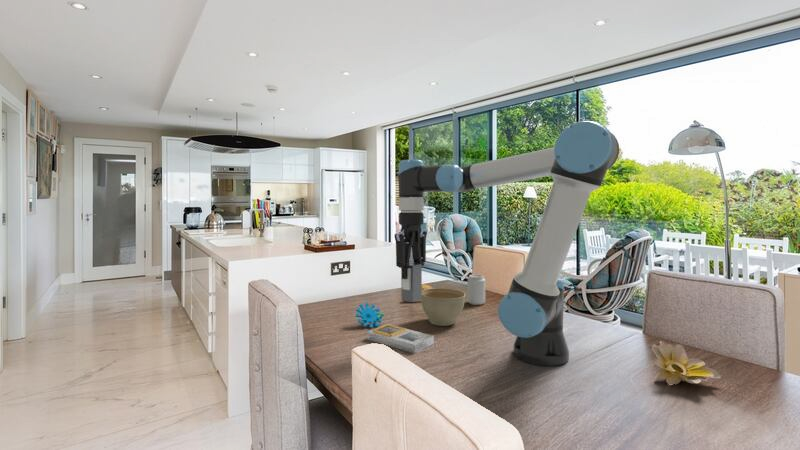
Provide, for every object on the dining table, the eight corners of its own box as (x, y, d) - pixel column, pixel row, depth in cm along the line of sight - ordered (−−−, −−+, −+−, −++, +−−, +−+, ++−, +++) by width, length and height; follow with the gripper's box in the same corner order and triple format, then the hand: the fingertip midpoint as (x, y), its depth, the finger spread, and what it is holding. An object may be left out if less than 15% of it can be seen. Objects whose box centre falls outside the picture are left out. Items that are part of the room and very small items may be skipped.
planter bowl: (444, 332, 138) (444, 301, 137) (411, 321, 150) (411, 292, 150) (474, 322, 149) (474, 293, 148) (441, 313, 161) (441, 285, 160)
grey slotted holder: (433, 343, 128) (433, 334, 128) (414, 353, 120) (414, 343, 120) (387, 331, 140) (387, 322, 140) (367, 339, 132) (367, 330, 132)
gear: (358, 326, 140) (354, 301, 146) (353, 334, 144) (349, 309, 150) (388, 326, 145) (383, 301, 151) (382, 334, 148) (377, 310, 155)
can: (486, 305, 172) (487, 277, 171) (468, 305, 172) (469, 277, 171) (483, 301, 179) (483, 273, 178) (466, 301, 179) (466, 273, 179)
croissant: (407, 312, 175) (413, 297, 171) (394, 297, 181) (399, 283, 178) (443, 303, 188) (449, 289, 184) (430, 289, 194) (435, 275, 191)
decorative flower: (688, 393, 92) (682, 347, 94) (642, 384, 102) (637, 342, 104) (730, 386, 98) (723, 342, 99) (682, 378, 108) (676, 339, 110)
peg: (421, 299, 127) (421, 263, 126) (413, 302, 123) (412, 265, 122) (410, 297, 129) (410, 262, 129) (401, 300, 126) (401, 264, 125)
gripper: (418, 210, 133) (418, 281, 135) (382, 212, 120) (383, 291, 121) (437, 210, 129) (437, 284, 130) (403, 212, 115) (403, 295, 117)
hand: (411, 287), depth 126 cm, fingers closed on peg, 4 cm apart
